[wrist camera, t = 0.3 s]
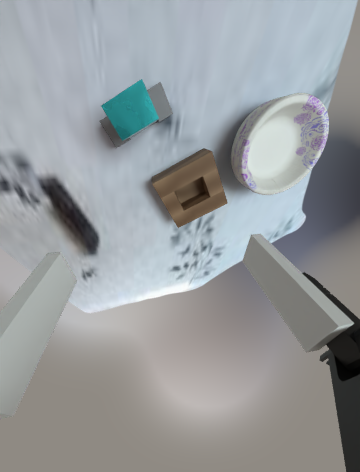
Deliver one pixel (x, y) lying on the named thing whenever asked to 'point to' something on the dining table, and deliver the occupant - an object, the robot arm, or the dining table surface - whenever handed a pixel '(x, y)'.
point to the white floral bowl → (280, 143)
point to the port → (191, 187)
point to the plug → (131, 111)
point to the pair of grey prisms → (159, 104)
